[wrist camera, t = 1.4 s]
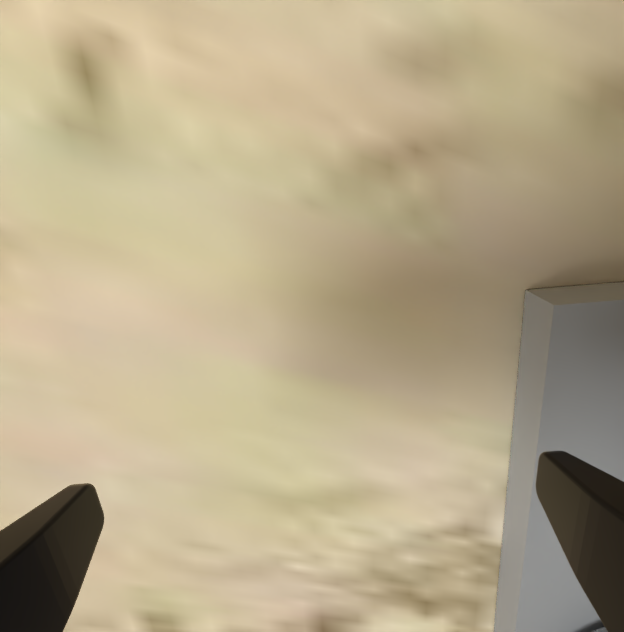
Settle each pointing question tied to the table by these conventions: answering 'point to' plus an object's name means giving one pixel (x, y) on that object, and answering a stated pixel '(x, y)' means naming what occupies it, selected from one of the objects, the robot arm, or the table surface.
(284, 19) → the table surface
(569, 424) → the base board
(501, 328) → the table surface
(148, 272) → the table surface
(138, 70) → the table surface
